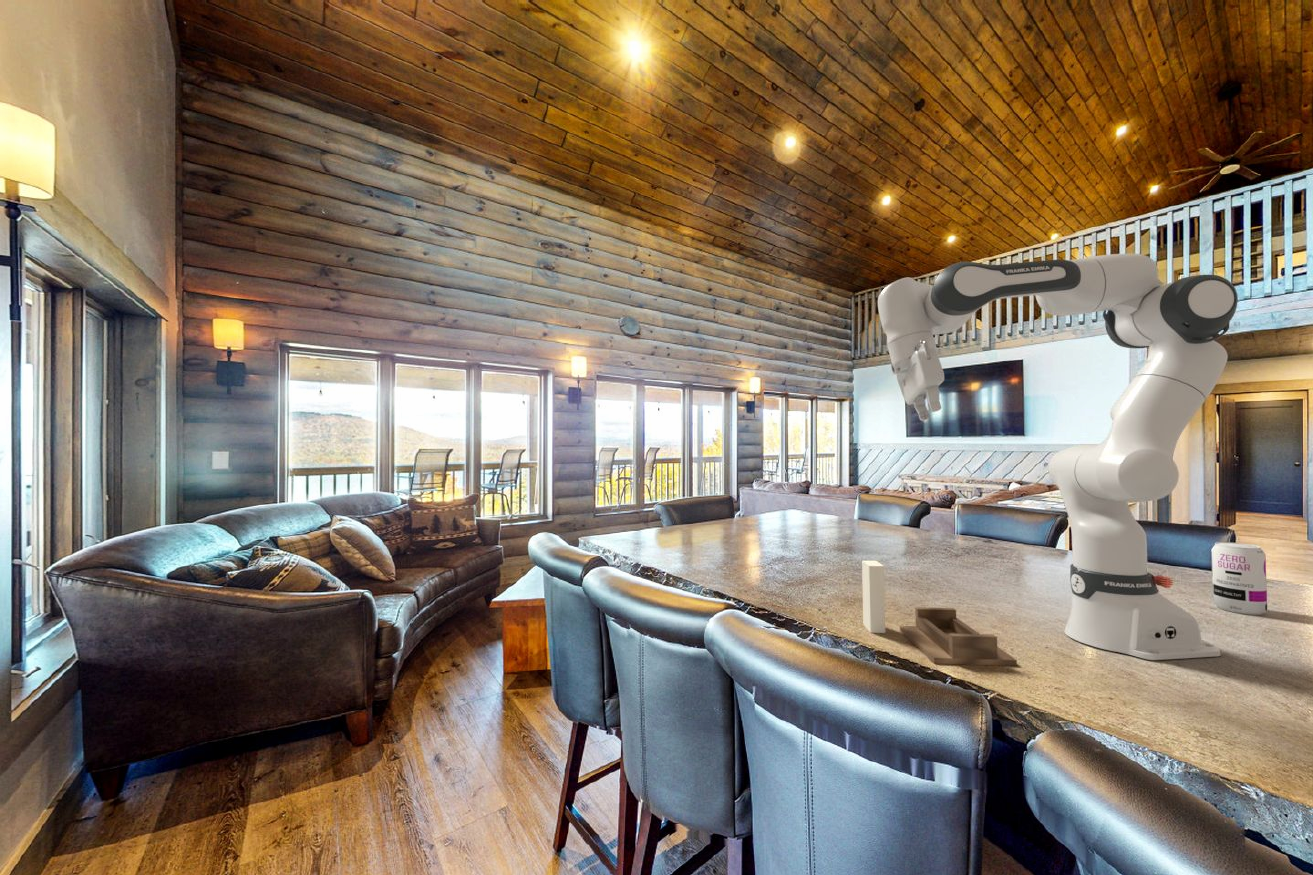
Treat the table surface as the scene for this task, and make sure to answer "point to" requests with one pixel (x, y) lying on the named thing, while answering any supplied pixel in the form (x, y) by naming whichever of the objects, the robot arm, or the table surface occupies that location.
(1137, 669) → the table surface
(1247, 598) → the supplement can
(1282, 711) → the table surface
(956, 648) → the track board
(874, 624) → the cream rectangular block
